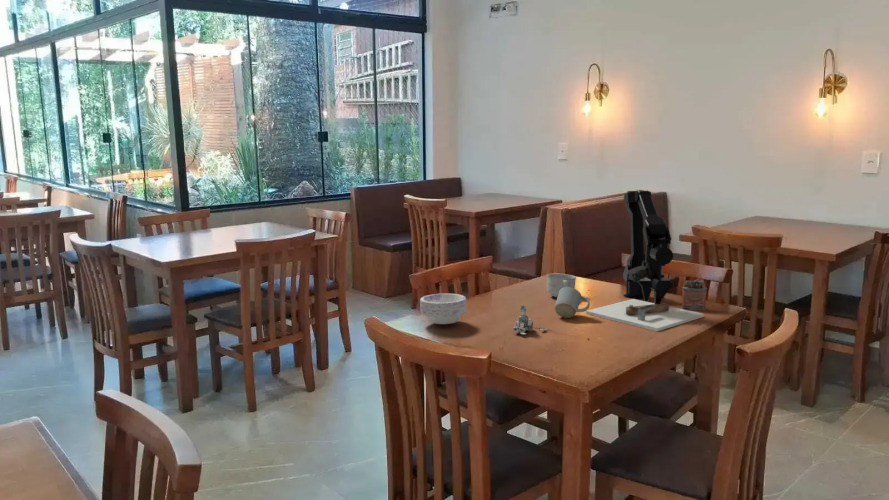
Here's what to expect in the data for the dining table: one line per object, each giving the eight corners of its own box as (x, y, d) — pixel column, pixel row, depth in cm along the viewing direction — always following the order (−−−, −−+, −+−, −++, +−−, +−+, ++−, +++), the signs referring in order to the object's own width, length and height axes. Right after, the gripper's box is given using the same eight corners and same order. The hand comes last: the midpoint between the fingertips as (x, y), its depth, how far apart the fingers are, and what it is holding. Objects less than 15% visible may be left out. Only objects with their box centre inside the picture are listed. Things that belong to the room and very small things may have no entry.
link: (629, 315, 220) (629, 306, 220) (623, 312, 223) (624, 304, 223) (669, 310, 225) (669, 302, 225) (663, 308, 228) (664, 300, 228)
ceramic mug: (561, 321, 225) (548, 305, 222) (567, 304, 230) (555, 288, 228) (588, 315, 218) (575, 298, 215) (593, 297, 224) (581, 281, 221)
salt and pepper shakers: (524, 441, 302) (524, 418, 300) (519, 437, 306) (519, 414, 304) (547, 436, 307) (547, 413, 305) (542, 432, 311) (542, 410, 309)
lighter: (704, 307, 234) (705, 279, 233) (707, 310, 231) (708, 281, 229) (680, 307, 235) (681, 279, 233) (682, 309, 232) (684, 281, 230)
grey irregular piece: (536, 336, 205) (536, 311, 203) (510, 332, 209) (510, 308, 208) (546, 328, 212) (547, 305, 211) (521, 325, 217) (521, 302, 215)
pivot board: (586, 313, 228) (586, 310, 228) (632, 301, 244) (633, 298, 244) (657, 331, 207) (657, 327, 206) (703, 316, 222) (703, 313, 222)
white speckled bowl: (433, 313, 232) (433, 290, 231) (473, 317, 226) (473, 294, 224) (412, 324, 219) (411, 300, 217) (454, 329, 212) (454, 305, 211)
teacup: (546, 292, 260) (546, 272, 259) (574, 293, 259) (575, 272, 257) (546, 301, 247) (547, 279, 245) (576, 301, 245) (577, 280, 244)
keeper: (637, 319, 216) (638, 308, 216) (651, 315, 221) (651, 304, 220) (641, 320, 215) (642, 309, 214) (655, 316, 220) (656, 305, 219)
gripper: (620, 254, 236) (618, 297, 239) (644, 264, 218) (641, 311, 221) (650, 254, 238) (647, 296, 241) (676, 264, 220) (672, 310, 223)
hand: (651, 303), depth 231 cm, fingers open, 7 cm apart
